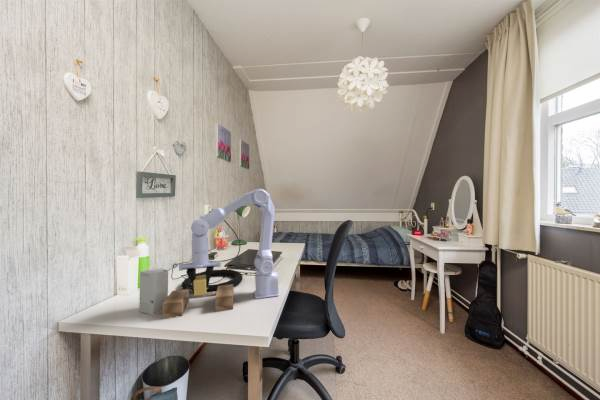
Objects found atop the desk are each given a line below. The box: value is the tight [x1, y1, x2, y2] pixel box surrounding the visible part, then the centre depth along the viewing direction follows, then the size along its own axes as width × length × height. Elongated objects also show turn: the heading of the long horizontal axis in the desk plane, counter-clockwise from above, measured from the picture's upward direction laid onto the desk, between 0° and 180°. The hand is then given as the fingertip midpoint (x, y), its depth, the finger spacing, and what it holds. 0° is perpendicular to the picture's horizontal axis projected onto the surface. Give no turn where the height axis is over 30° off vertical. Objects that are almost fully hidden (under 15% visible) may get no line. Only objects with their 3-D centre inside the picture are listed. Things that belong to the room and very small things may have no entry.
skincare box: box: [138, 267, 169, 316], centre depth 87 cm, size 8×6×15 cm
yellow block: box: [193, 275, 208, 296], centre depth 89 cm, size 4×6×5 cm, turn 14°
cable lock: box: [181, 268, 244, 294], centre depth 112 cm, size 28×4×30 cm
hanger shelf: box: [162, 284, 235, 319], centre depth 89 cm, size 23×12×5 cm, turn 104°
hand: (201, 287), depth 89 cm, fingers closed on yellow block, 4 cm apart
